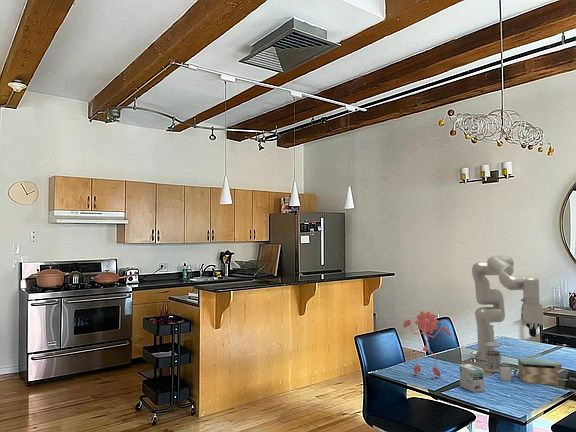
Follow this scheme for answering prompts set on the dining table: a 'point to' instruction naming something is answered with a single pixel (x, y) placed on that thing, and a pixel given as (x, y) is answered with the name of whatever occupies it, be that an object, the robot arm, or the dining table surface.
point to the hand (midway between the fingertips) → (532, 336)
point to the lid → (537, 362)
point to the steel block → (505, 373)
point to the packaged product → (559, 367)
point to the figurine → (426, 324)
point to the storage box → (538, 374)
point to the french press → (493, 356)
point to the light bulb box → (472, 377)
